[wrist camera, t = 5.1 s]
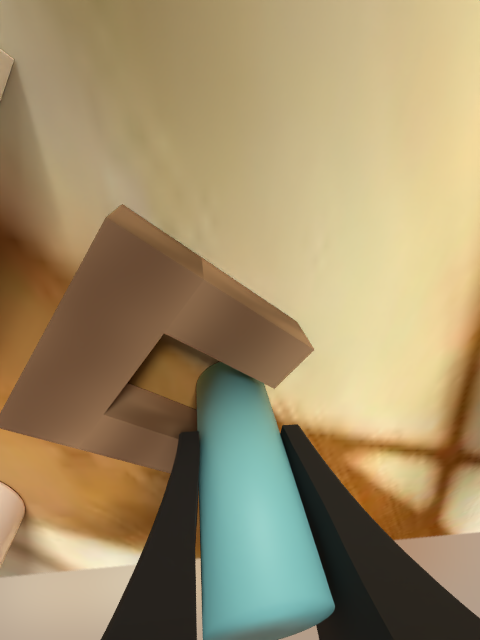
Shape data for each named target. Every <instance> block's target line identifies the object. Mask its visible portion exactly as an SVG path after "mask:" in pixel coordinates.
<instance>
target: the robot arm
mask: <svg viewBox="0 0 480 640" xmlns="http://www.w3.org/2000/svg"><path fill="white" fill-rule="evenodd" d="M280 435H281V439H282V442H283V445H284V448H285V451H286V454H287V457H288V460H289V464H290V467H291V470H292V473H293V476H294V479H295V482H296V486H297V489H298V492H299V495H300V498H301V501H302V504H303V507H304V511H305V514H306V517H307V520H308V523H309V526H310V529H311V532H312V536H313V539H314V542H315V545H316V548H317V551H318V554H319V557H320V561H321V564H322V567H323V570H324V573H325V576H326V579H327V583H328V586H329V589H330V592H331V595H332V598H333V601H334V604H335V610H334V611H333V613H332V614H331V615H330V616H329V617H328V618H326V619H325V620H323V621H322V622H320V623H319V624H317V625H316V626H317V630H318V635H319V640H480V618H479V617H477V616H476V615H475V614H474V613H473V612H471V611H470V610H469V609H468V608H467V607H465V606H464V605H463V604H462V603H460V602H459V600H457V599H456V598H455V597H454V596H453V595H452V594H450V593H449V592H448V591H447V590H446V589H445V588H443V587H442V586H441V585H440V584H439V583H438V582H437V581H436V580H435V579H433V578H432V577H431V576H430V575H429V574H428V573H427V572H426V571H425V570H424V569H423V568H422V567H420V566H419V565H418V564H417V563H416V562H415V561H414V560H413V559H412V558H411V557H410V556H409V555H408V554H406V553H405V552H404V550H403V549H402V548H401V547H399V546H398V545H397V544H396V543H395V542H394V541H393V540H392V539H391V538H390V537H389V536H388V534H387V533H386V532H385V531H384V530H383V529H382V528H381V527H380V526H379V525H378V524H377V523H376V522H375V521H374V520H373V519H372V518H371V517H370V515H369V514H368V513H367V512H366V511H365V510H364V509H363V508H362V507H361V505H360V504H359V503H358V502H357V501H356V500H355V498H354V497H353V496H352V495H351V494H350V493H349V491H348V490H347V489H346V488H345V487H344V485H343V484H342V483H341V482H340V480H339V479H338V478H337V477H336V475H335V474H334V473H333V472H332V470H331V469H330V468H329V467H328V465H327V464H326V463H325V461H324V460H323V459H322V457H321V456H320V455H319V453H318V452H317V451H316V449H315V448H314V446H313V445H312V444H311V442H310V441H309V439H308V438H307V437H306V435H305V434H304V432H303V431H302V430H301V428H300V427H299V426H298V425H283V426H282V429H281V433H280ZM199 464H200V442H199V431H192V432H182V433H180V434H179V440H178V446H177V452H176V456H175V460H174V464H173V468H172V471H171V475H170V478H169V481H168V484H167V487H166V491H165V494H164V497H163V500H162V503H161V505H160V508H159V511H158V513H157V516H156V519H155V521H154V524H153V527H152V529H151V532H150V534H149V537H148V539H147V542H146V544H145V546H144V549H143V551H142V554H141V556H140V558H139V560H138V563H137V565H136V567H135V570H134V572H133V574H132V576H131V578H130V581H129V583H128V585H127V587H126V589H125V591H124V593H123V596H122V598H121V600H120V602H119V604H118V606H117V608H116V611H115V613H114V615H113V617H112V619H111V621H110V623H109V625H108V627H107V629H106V631H105V633H104V634H103V636H102V639H101V640H197V631H196V630H197V629H196V574H195V543H196V526H197V509H198V491H199Z"/></svg>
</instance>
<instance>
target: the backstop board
mask: <svg viewBox="0 0 480 640" xmlns="http://www.w3.org/2000/svg"><path fill="white" fill-rule="evenodd" d="M13 62H14V59H13V58H12V57H11V56H9V55H8V54H7V53H5V52H4V51H3V50H2V49H0V101H1V98H2V95H3V92H4V89H5V86H6V83H7V80H8V77H9V74H10V71H11V68H12V65H13Z"/></svg>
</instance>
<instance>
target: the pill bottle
mask: <svg viewBox="0 0 480 640" xmlns="http://www.w3.org/2000/svg"><path fill="white" fill-rule="evenodd" d="M24 514H25V506H24V503H23V500H22V499H21V498H20V496H19V495H18V494H17V493H16V492H15V491H14V490H13V489H11V488H10V487H9V486H7V485H5V484H4V483H2V482H0V568H1V565H2V563H3V561H4V559H5V557H6V554H7V552H8V550H9V548H10V546H11V543H12V541H13V539H14V537H15V535H16V532H17V530H18V528H19V526H20V524H21V521H22V519H23V517H24Z"/></svg>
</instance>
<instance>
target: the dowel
mask: <svg viewBox="0 0 480 640" xmlns="http://www.w3.org/2000/svg"><path fill="white" fill-rule="evenodd" d="M196 395H197V431H199V442H200V464H199V510H200V548H201V584H202V624H203V640H278V639H281V638H285V637H288V636H291V635H294V634H297V633H299V632H302V631H304V630H306V629H309V628H311V627H313V626H315V625H317V624H319V623H320V622H322V621H323V620H325V619H326V618H328V617H329V616H330V615H331V614H332V613H333V611H334V610H335V604H334V601H333V598H332V595H331V592H330V589H329V586H328V583H327V579H326V576H325V573H324V570H323V567H322V564H321V561H320V557H319V554H318V551H317V548H316V545H315V542H314V539H313V536H312V532H311V529H310V526H309V523H308V520H307V517H306V514H305V511H304V507H303V504H302V501H301V498H300V495H299V492H298V489H297V486H296V482H295V479H294V476H293V473H292V470H291V467H290V464H289V460H288V457H287V454H286V451H285V448H284V445H283V442H282V439H281V435H280V432H279V429H278V426H277V423H276V420H275V417H274V414H273V410H272V407H271V404H270V401H269V398H268V395H267V392H266V389H265V385H264V383H262V382H260V381H258V380H256V379H254V378H252V377H250V376H248V375H246V374H244V373H242V372H240V371H238V370H236V369H234V368H232V367H230V366H228V365H226V364H224V363H222V362H219V363H216V364H214V365H212V366H210V367H209V368H207V369H206V370H205V371H204V372H203V373H202V374H201V376H200V377H199V379H198V381H197V386H196Z"/></svg>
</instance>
